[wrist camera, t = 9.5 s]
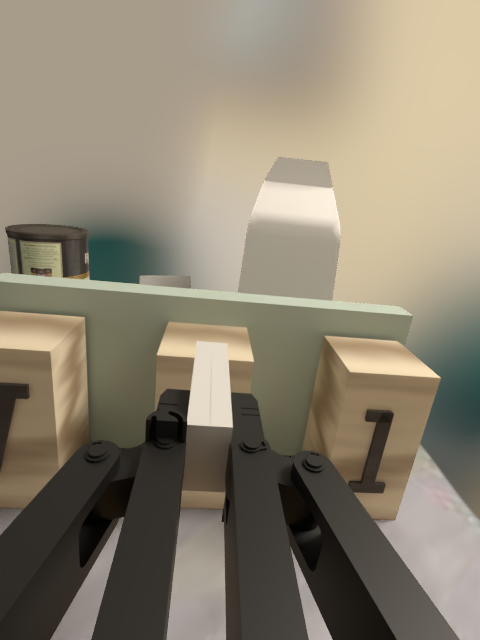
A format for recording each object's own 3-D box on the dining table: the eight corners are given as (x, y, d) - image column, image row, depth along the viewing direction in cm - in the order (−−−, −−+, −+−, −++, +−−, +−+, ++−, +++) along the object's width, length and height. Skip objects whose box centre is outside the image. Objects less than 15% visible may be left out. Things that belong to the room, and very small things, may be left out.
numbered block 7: (60, 512, 25) (48, 353, 21) (-33, 509, 25) (-63, 345, 21) (89, 451, 31) (84, 317, 27) (15, 447, 31) (-2, 310, 27)
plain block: (235, 509, 27) (254, 361, 23) (151, 506, 26) (156, 355, 22) (231, 453, 33) (246, 327, 29) (163, 450, 32) (168, 321, 28)
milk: (225, 372, 47) (248, 149, 38) (234, 338, 58) (254, 158, 49) (320, 384, 46) (365, 161, 38) (311, 348, 57) (344, 168, 49)
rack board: (373, 459, 34) (413, 315, 29) (6, 443, 31) (-15, 280, 26) (363, 442, 36) (398, 306, 31) (20, 425, 33) (3, 272, 28)
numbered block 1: (396, 522, 27) (442, 379, 23) (317, 520, 27) (351, 373, 23) (364, 463, 33) (397, 341, 29) (299, 460, 33) (323, 335, 29)
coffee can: (80, 309, 63) (77, 224, 58) (100, 329, 55) (98, 234, 51) (10, 316, 57) (0, 222, 52) (22, 340, 49) (11, 233, 45)
